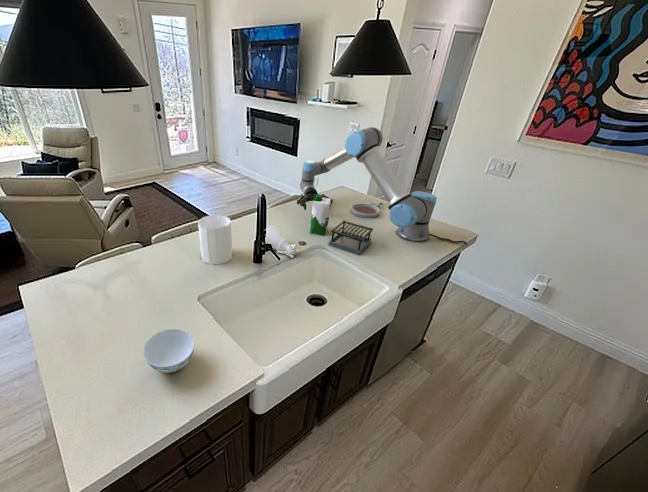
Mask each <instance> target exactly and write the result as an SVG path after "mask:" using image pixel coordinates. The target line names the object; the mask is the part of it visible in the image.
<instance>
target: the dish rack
mask: <svg viewBox="0 0 648 492" xmlns="http://www.w3.org/2000/svg"><path fill="white" fill-rule="evenodd" d="M367 231H368V232H367ZM373 231H374V228H371V227H367V226H366V225H365V226H364V225H361V224H357V223H354V222H350V221H347V220H342V221H341V222H340V223H338V225H336V226H335V227H334V228H332V229H331V230H330V233H331V239H330V240H329V242H328V245H329V246H331V247H333V248H337V249H340V250H343V251H345V252H349V253H352V254H356V255H361V254H362V252H363V251H364V250H365V249H366V248H367V247H368V246H369V245H370V244H371V241H372V238H371V234H372V232H373ZM364 234H365V235H364ZM363 235H364V236H363Z"/></svg>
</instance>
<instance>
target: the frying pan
mask: <svg viewBox="0 0 648 492" xmlns="http://www.w3.org/2000/svg"><path fill="white" fill-rule="evenodd" d="M380 208H383V201H380V202H379V203H376V202H370V203H364V202H359V203H355V204H353V205H352V206H351V207H350V210H351V213H352V214H353V215H354V216H356V217H360V218H365V219H372V218H373V219H374V218H376V217H378V216H379V214H380V213H381V209H380Z"/></svg>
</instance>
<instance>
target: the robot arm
mask: <svg viewBox="0 0 648 492" xmlns="http://www.w3.org/2000/svg"><path fill="white" fill-rule="evenodd" d="M383 137H384V136H383V132H381V130H380V129H378V128H377V127H374V126H372V127H367V128H361V129H356V130H353V131H352V132H350V133H349V134H348V135H347V137H346V138H345V142H344V147H343V148H341V149H339V150H337V151H336V152H334V153H333V154H330V155H329V156H327V157H325V158H324V159H322V160H320V161H314V160H312V159H311V160H310V159H309V160H304V161H303V163H302V168H301V169H302V171H301V181H300V183H299V188H300V191H301V194H300V195H299V197H298V198H297V199H296V205H299V206H300V207H303V210H304V211H307V203H308V202H313V201H314V197H315V195H320V194H319V193H318V191H317V189H316V187H315V186H314V183H315V177H317V176H320V175H322V174H326V173H327V174H328V173H329V172H331V170H333V169H335V168H337V167H338V166H341V165H343V164H344V163H345V164H346V162H349V161H351V160H352V159H354V158H355V159H356V161H357V162H358V163H362V164H363V165H364V167H365V168H366V170H367V171H368V173H369V174H370V176H371V178H372V179H373V180H374V182H375V184H376V185H377V187H378V188H379V190H380V191H381V193H382V195H383V197H385V199H386V201H387V203H388V204H387V208H388V210H389V215H388V216H389V220H390V222H391V223H392V224H393V225H394V226H396V227H398V229H397V235H398V236H399V237H401V238H402V239H404V240H406V241H411V242H418V243H419V242H424V241H427V240H428V239H429V236H430V237H432V238H436V239H438V240H441V241H448V242H449V243H453V244H459V243H463V244H465V245H466V246H467V245H468V242H467V241H465V240H452V239H450V238H445V237H440V236H437V235H435V234H432V233H430V230H429V229H430V226H429V224H430V221H431V218H432V215H433V212H434V209H435V207H436V204H437V199H438V198H437V196H436V195H435V194H433V193H430V192H426V191H419V190H417V191H415V190H414V191H413V192H412V193H411V192H406V190H404V188H403V187H402V185H401V183H400V182H399V180H398V179H397V177H396V176H395V174H394V173H393V171H392V170H391V168H390V167H389V165H388V163H387V162H386V161H385V159H384V158H383V156H382V154H381V153H380V147H381V145H382V143H383V141H384V140H383V139H384V138H383ZM321 195H322V198H328V199H331V204H330V210H331V209H332V205H333V204H334V198H331V197H329V196H327V195H326V194H324V193H321Z"/></svg>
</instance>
